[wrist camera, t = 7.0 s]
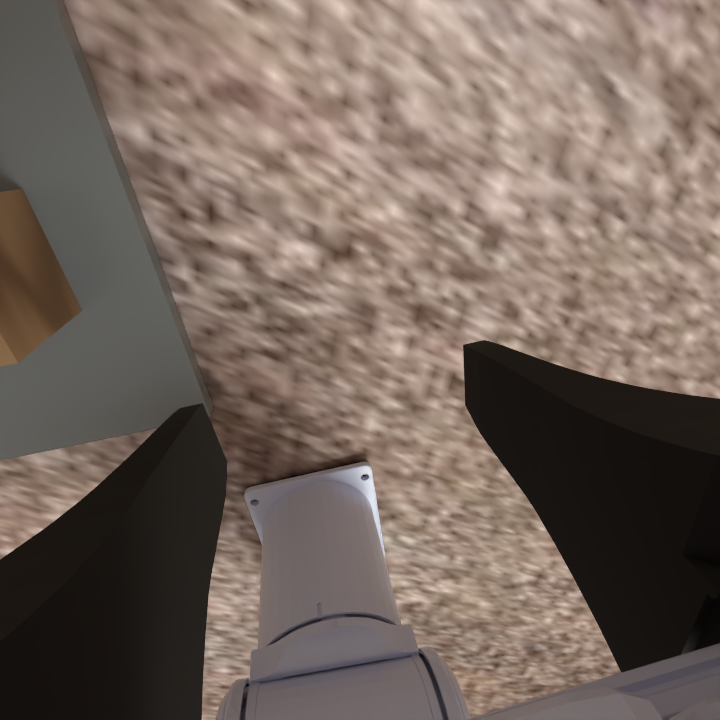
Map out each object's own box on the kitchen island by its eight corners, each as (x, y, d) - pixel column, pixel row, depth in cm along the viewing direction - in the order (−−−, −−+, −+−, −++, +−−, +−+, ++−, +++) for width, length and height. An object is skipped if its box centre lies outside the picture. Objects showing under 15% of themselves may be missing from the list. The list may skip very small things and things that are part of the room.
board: (213, 406, 22) (210, 417, 21) (-19, 453, 21) (-32, 467, 20) (52, -30, 14) (37, -42, 13) (-353, 12, 13) (-400, 2, 12)
